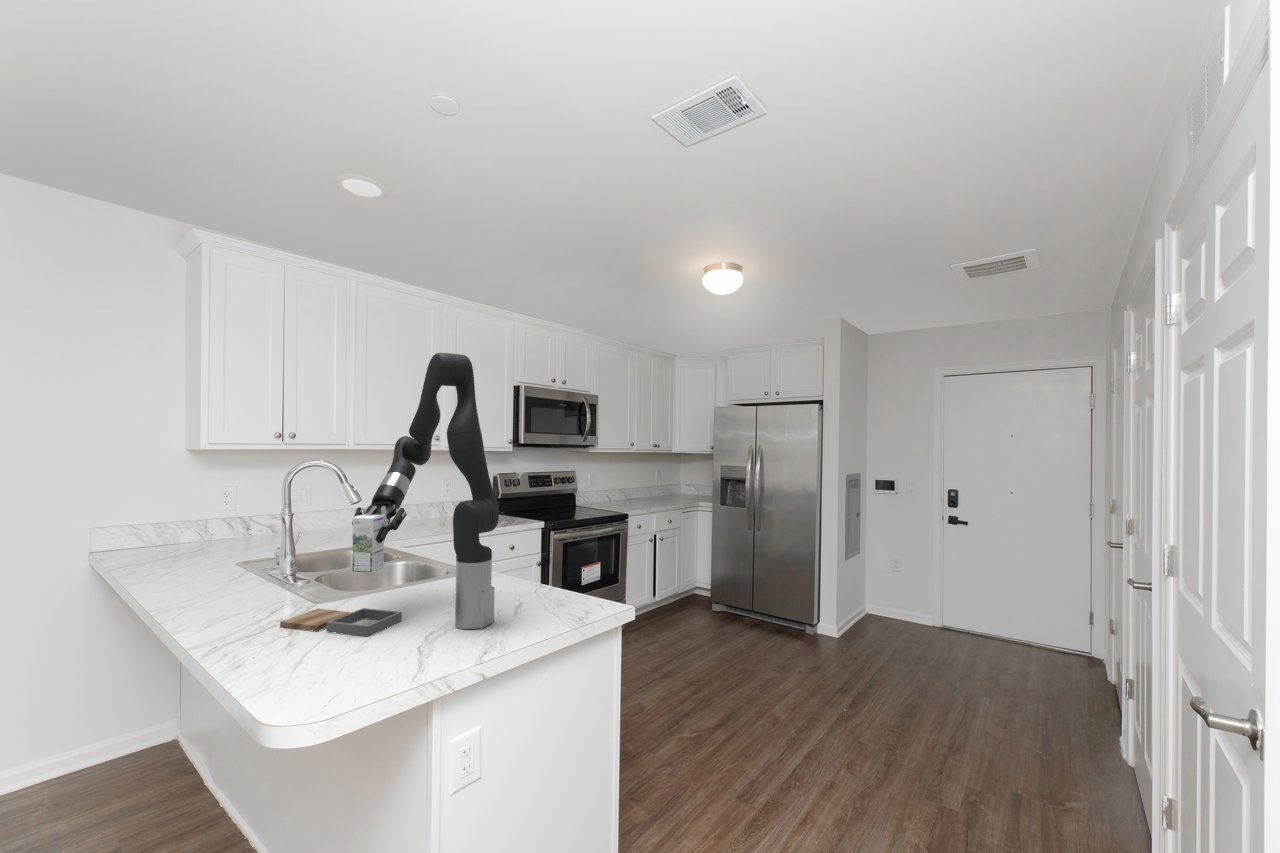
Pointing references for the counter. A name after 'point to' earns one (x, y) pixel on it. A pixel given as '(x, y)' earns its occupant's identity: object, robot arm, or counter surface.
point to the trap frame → (346, 627)
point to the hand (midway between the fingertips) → (367, 541)
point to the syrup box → (367, 543)
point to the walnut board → (312, 619)
